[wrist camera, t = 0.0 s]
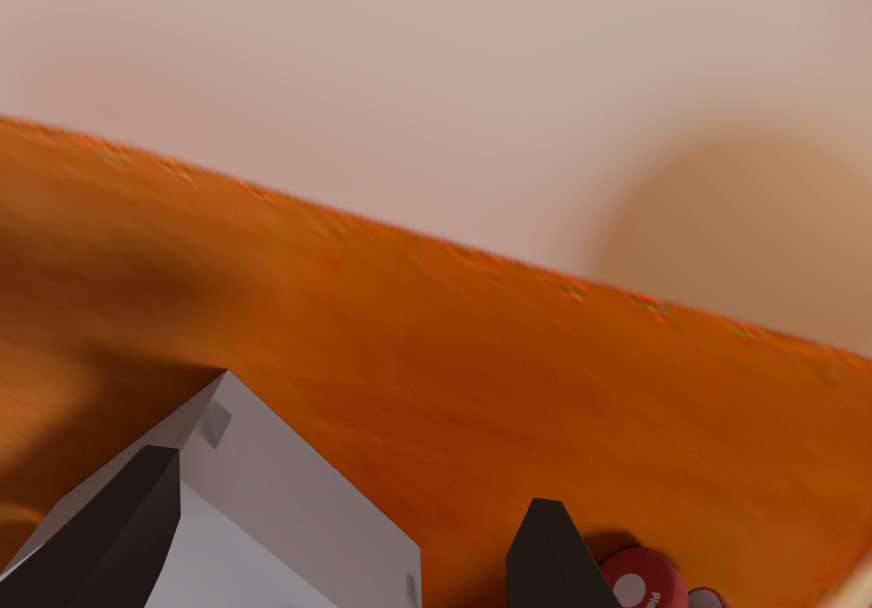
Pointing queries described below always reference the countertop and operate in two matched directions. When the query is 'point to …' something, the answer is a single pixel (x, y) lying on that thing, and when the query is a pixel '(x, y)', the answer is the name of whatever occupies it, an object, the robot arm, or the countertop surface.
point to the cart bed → (258, 516)
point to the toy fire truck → (653, 582)
